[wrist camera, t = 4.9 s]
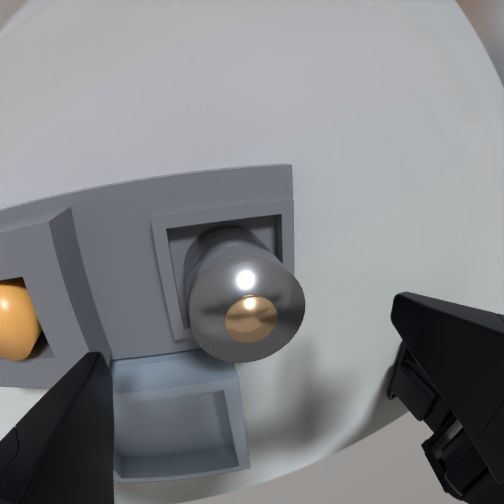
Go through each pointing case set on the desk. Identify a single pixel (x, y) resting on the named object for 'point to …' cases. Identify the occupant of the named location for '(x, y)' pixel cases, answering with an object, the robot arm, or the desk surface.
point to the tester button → (17, 320)
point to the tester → (128, 261)
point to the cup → (176, 417)
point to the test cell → (240, 296)
